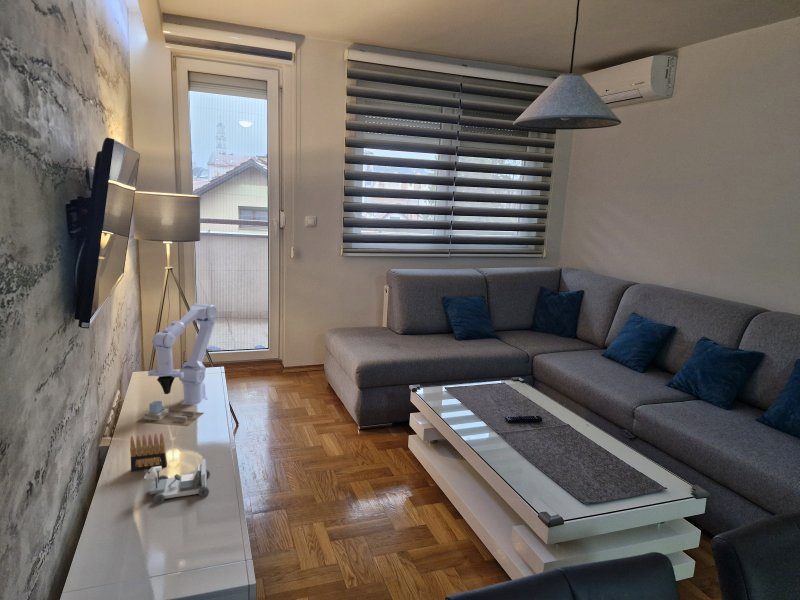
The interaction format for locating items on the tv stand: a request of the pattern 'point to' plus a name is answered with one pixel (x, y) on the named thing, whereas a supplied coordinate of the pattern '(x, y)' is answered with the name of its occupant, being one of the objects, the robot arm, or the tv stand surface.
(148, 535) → the tv stand surface
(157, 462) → the ammunition clip
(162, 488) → the toy car
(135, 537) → the tv stand surface
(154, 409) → the plug
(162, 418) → the brown tray
